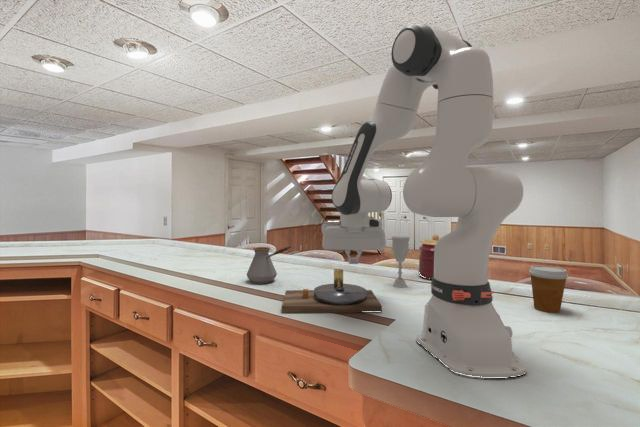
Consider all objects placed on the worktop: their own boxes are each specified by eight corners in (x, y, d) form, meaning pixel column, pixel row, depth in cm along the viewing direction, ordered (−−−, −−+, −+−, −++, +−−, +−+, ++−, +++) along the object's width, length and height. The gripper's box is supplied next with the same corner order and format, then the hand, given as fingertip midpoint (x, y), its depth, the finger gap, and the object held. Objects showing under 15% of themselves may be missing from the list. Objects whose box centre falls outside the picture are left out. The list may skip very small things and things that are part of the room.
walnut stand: (381, 312, 94) (381, 297, 94) (281, 313, 94) (281, 297, 93) (371, 295, 110) (371, 282, 110) (286, 296, 110) (286, 283, 109)
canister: (412, 277, 137) (413, 234, 136) (427, 272, 146) (428, 232, 146) (443, 282, 128) (444, 236, 127) (457, 277, 137) (458, 234, 137)
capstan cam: (371, 304, 94) (371, 280, 94) (314, 305, 94) (314, 280, 93) (362, 289, 110) (362, 268, 110) (313, 289, 110) (313, 268, 109)
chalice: (409, 288, 120) (410, 238, 119) (390, 287, 121) (391, 237, 120) (408, 283, 127) (409, 236, 126) (390, 282, 128) (390, 235, 127)
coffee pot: (240, 281, 129) (240, 242, 128) (263, 276, 138) (262, 240, 137) (279, 291, 115) (279, 248, 115) (301, 285, 124) (302, 244, 124)
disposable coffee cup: (520, 306, 101) (521, 266, 100) (542, 302, 104) (543, 264, 103) (551, 316, 92) (553, 273, 91) (575, 312, 95) (576, 270, 95)
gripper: (321, 221, 104) (321, 265, 105) (387, 221, 104) (386, 265, 105) (321, 219, 110) (320, 261, 111) (383, 220, 111) (382, 261, 112)
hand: (353, 263), depth 108 cm, fingers closed
